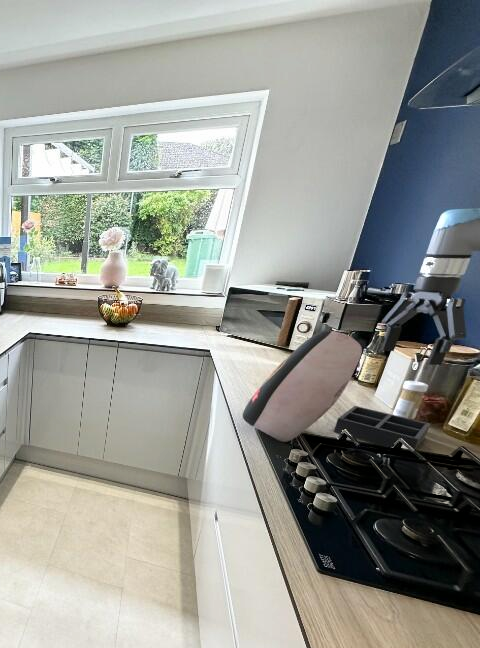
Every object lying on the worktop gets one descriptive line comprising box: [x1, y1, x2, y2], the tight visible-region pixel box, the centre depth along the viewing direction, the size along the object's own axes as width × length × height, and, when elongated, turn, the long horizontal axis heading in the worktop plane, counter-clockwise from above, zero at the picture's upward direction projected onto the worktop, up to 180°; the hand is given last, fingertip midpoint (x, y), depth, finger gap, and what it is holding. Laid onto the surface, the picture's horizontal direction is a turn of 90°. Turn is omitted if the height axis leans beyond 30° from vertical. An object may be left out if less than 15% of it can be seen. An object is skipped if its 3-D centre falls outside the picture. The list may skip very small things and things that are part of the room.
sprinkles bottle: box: [392, 380, 429, 420], centre depth 113 cm, size 5×5×14 cm
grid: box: [333, 405, 431, 450], centre depth 109 cm, size 15×15×5 cm
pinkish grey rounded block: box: [242, 330, 363, 443], centre depth 106 cm, size 22×20×30 cm
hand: (409, 357), depth 107 cm, fingers open, 13 cm apart
